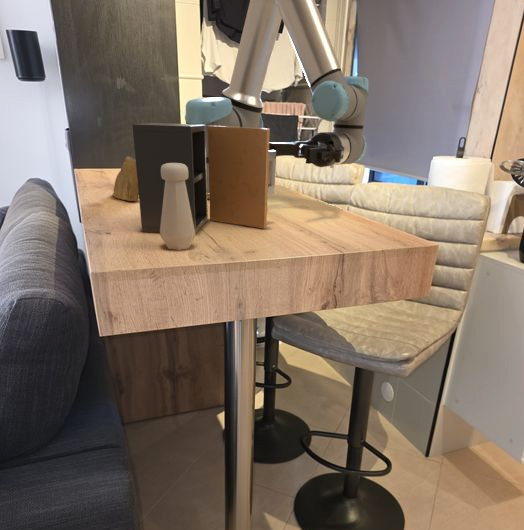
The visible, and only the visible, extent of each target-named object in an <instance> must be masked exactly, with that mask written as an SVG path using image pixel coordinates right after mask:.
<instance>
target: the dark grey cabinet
mask: <svg viewBox="0 0 524 530" xmlns="http://www.w3.org/2000/svg"><path fill="white" fill-rule="evenodd" d="M131 127H132V138H133V147H134V159H135V161H136V170H137V181H138V192H139V198H138V201H139V202H138V204H139V211H140V222H141V223H140V224H141V232H142V233H153V234H155V233H156V234H158V233H159V234H160V226H161V216H162V207H163V198H164V188H165V180H164V179H162V177H161V166H162V165H163V164H166V163H182V164H185V165H186V166H187V168H188V179H186V180H185V184H186V189H187V194H188V199H189V204H190V209H191V214H192V219H193V224H194V229H195V235H196V234H197V233H198V232H199V231H200V230H201V229H202V227H203V226H204V225H205V224H206V223H207V222H208V220H209V215H208V213H209V212H208V199H207V171H206V131H205V125H197V124H186V123H165V122H164V123H163V122H149V123H132V124H131Z"/></svg>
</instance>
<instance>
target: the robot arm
mask: <svg viewBox="0 0 524 530" xmlns="http://www.w3.org/2000/svg"><path fill="white" fill-rule="evenodd" d="M246 12H247V13H246V17H245V19H244V24H243V29H242V34H241V38H240V41H239V45H238V50H237V53H236V58H235V62H234V66H233V71H232V75H231V78H230V82H229V85H228V87H226V88H225V89H223V90H222V92H221V96H220V97H219V96H218V97H217V96H215V97H213V96H212V97H211V96H210V97H197V98H193V99H189V100H188V101H187V102H186V103H185V115H184V120H185V124H197V125H205V131H206V171H207V200H210V195H209V152H208V126H225V127H245V128H264V120H263V118H262V112H263V109H264V103H263V102H262V99H261V96H262V92H263V87H264V86H265V85H264V84H265V81H266V77H267V75H268V74H267V73H268V70H269V66H270V63H271V59H272V55H273V52H274V48H275V46H276V45H275V44H276V41H277V38H278V34H279V30H280V26H281V23H282V22H283V25H284V27H285V29H286V32H287V34H288V37H289V39H290V42H291V44H292V47H293V50H294V51H295V54H296V57H297V59H298V62H299V64H300V67H301V69H302V72H303V73H304V74H303V75H304V76H305V79H306V82H307V84H308V86H309V89H310V92H311V94H312V95H311V99H310V100H311V101H310V102H311V103H310V104H311V108H312V111H313V113H314V114H315V116H316V117H317V118H319V119H321V120H323V121H326V122H333V124H332V127H333V128H332V131H324V132H322V131H320V132H317V133H315V134H314V135H313V136H312V137H311V138H310V139H309V140H305V141H291V142H283V141H282V142H280V141H279V142H273V141H271V142H270V141H269V150H275V151H276V156H291V157H292V156H293V157H294V158H295V159H304V160H305V164H308V165H310V164H312V165H313V166H315V167H318V168H325V167H326V168H327V167H329V168H330V169H334V166H339V165H350V164H354V163H357V162H359V161H360V160H362V159H363V158H364V156H365V155H366V152H367V149H368V143H367V138H366V137H365V135H364V134H363V133H364V127H365V118H366V111H367V102H368V97H369V86H370V85H369V84H370V83H369V82H370V81H369V78H367V77H365V76H353V75H352V76H349V75H348V76H347V75H344V74H343V71H342V68H341V65H340V62H339V60H338V57H337V54H336V52H335V50H334V47H333V44H332V41H331V39H330V36H329V34H328V31H327V28H326V26H325V24H324V21H323V18H322V15H321V12H320V10H319V8H318V5H317V3H316V0H249V4H248V8H247V11H246ZM299 153H300V154H299Z"/></svg>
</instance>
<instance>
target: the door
mask: <svg viewBox="0 0 524 530" xmlns="http://www.w3.org/2000/svg"><path fill="white" fill-rule="evenodd" d="M270 131H271V129H270V128H265V127H263V128H245V127H225V126H208V152H209V195H210V199H209V220H210V221H215V222H221V223H228V224H234V225H238V226H239V225H240V226H247V227H253V228H259V229H266V228H267V224H268V223H267V222H268V220H267V219H268V218H267V217H268V196H271V195H275V193H276V172H277V155H276V151H275V150H269V142H270Z"/></svg>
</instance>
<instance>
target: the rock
mask: <svg viewBox="0 0 524 530" xmlns="http://www.w3.org/2000/svg"><path fill="white" fill-rule="evenodd" d="M111 196H112V197H114V198H115V199H119V200H123V201H127V202H138V201H139V192H138V181H137V170H136V160H135V158H134V157H131V156H129V155H127V156H126V157H125V159H124V162H123V163H122V166H121V167H120V171H118V173H117V174H116V177H115V181H114V187H113V193H112V195H111Z"/></svg>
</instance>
